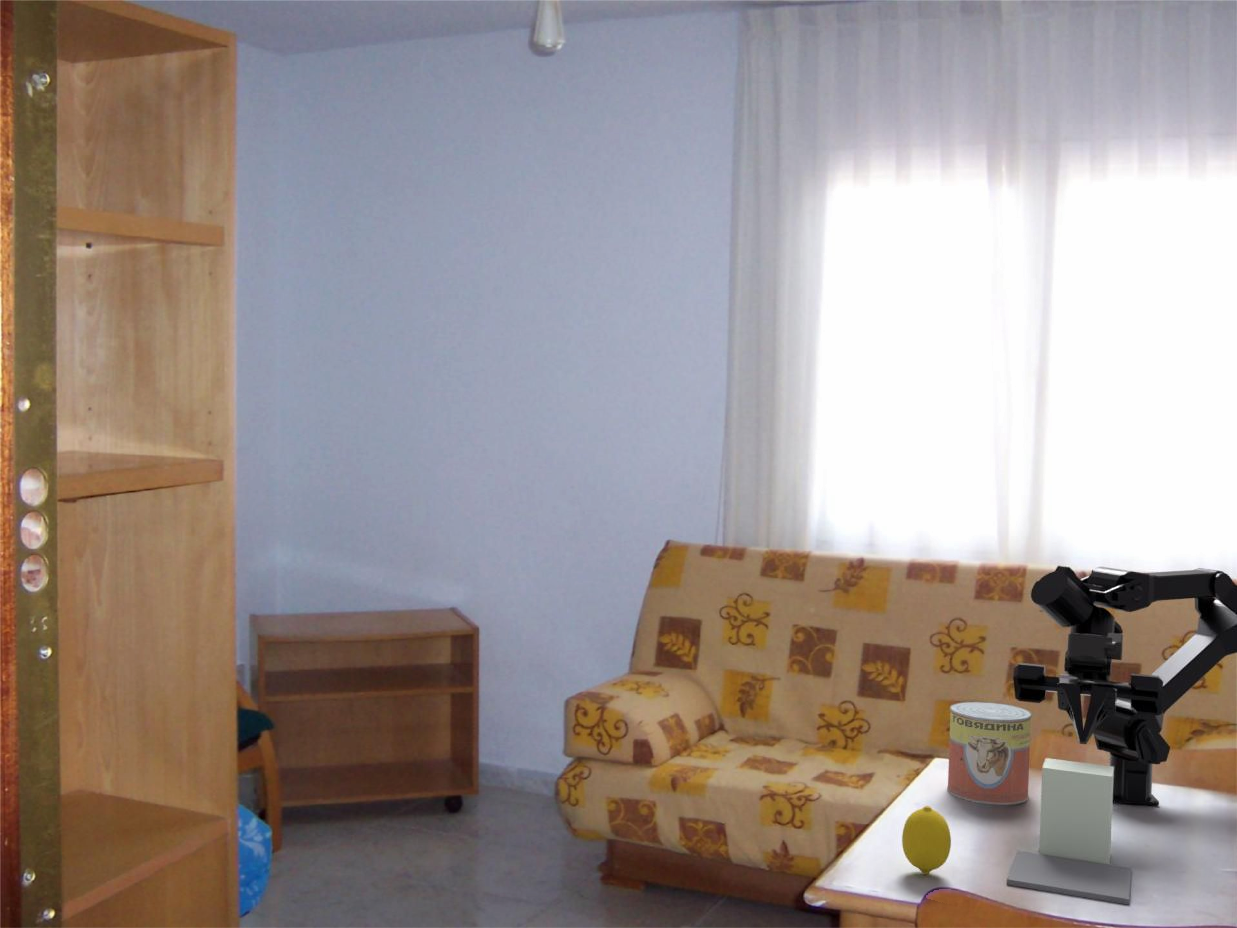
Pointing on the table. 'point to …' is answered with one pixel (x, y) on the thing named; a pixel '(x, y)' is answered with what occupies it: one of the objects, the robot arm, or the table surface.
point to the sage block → (1076, 810)
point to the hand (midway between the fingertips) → (1082, 742)
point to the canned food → (989, 753)
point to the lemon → (926, 839)
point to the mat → (1071, 876)
